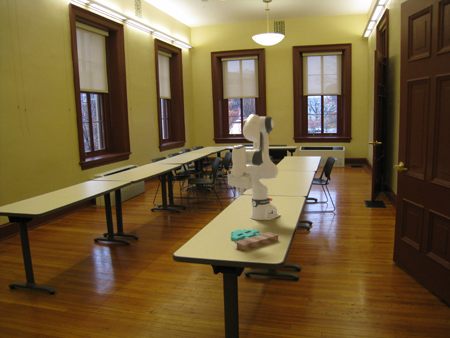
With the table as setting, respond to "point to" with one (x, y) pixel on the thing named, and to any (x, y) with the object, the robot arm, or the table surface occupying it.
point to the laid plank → (256, 241)
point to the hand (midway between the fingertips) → (240, 194)
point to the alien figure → (243, 234)
